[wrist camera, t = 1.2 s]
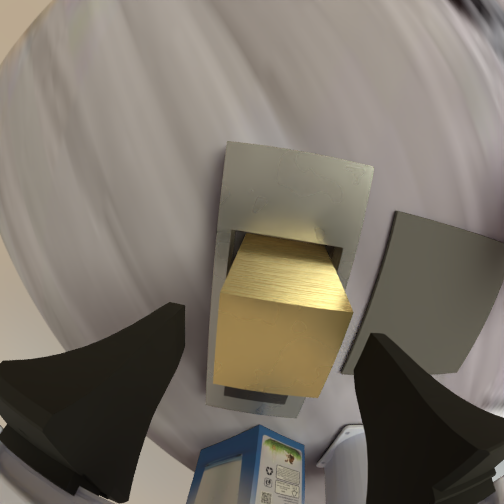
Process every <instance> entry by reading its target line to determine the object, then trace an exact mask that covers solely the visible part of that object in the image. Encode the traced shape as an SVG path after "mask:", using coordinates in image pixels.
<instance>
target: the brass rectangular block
mask: <svg viewBox="0 0 504 504" xmlns="http://www.w3.org/2000/svg"><path fill="white" fill-rule="evenodd" d="M352 315H353V310H352V308H351V305H350V303H349V301H348V298H347V296H346V293H345V291H344V289H343V286H342V284H341V282H340V279H339V277H338V275H337V273H336V270H335V268H334V266H333V264H332V261H331V259H330V257H329V255H328V253H327V251H326V248H325V246H324V245H318V244H312V243H306V242H300V241H294V240H288V239H282V238H276V237H270V236H263V235H257V234H251V233H246V235H245V237H244V240H243V242H242V244H241V246H240V248H239V251H238V253H237V255H236V257H235V260H234V262H233V264H232V266H231V269H230V271H229V273H228V275H227V278H226V280H225V282H224V285H223V287H222V289H221V291H220V298H219V310H218V321H217V334H216V347H215V361H214V375H213V384H218V385H223V386H228V387H233V388H239V389H245V390H251V391H258V392H265V393H273V394H281V395H290V396H300V397H313V398H318V397H319V395H320V393H321V390H322V388H323V386H324V384H325V382H326V380H327V377H328V375H329V373H330V370H331V368H332V366H333V364H334V361H335V359H336V356H337V354H338V352H339V349H340V347H341V344H342V342H343V339H344V336H345V334H346V331H347V328H348V326H349V323H350V320H351V318H352Z"/></svg>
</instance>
